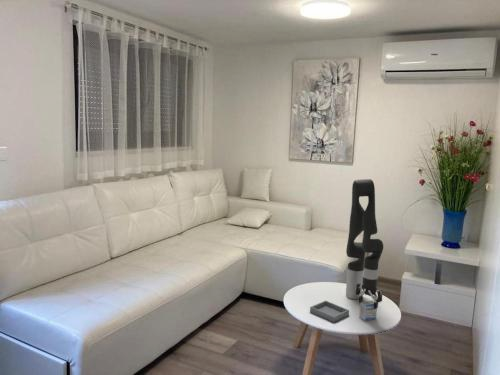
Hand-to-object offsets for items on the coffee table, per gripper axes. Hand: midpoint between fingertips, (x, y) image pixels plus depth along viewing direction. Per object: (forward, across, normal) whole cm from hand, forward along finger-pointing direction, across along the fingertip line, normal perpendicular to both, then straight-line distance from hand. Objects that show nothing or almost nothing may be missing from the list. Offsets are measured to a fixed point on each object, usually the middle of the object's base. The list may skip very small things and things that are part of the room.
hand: (367, 306), depth 212 cm
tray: (+7, +16, +12) cm, 21 cm away
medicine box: (+7, 0, -1) cm, 7 cm away
